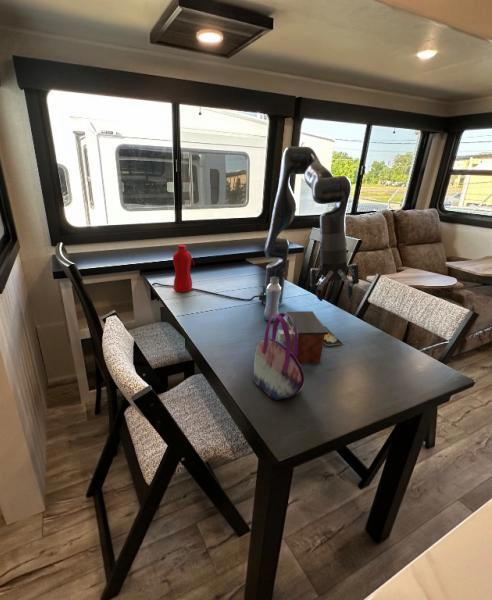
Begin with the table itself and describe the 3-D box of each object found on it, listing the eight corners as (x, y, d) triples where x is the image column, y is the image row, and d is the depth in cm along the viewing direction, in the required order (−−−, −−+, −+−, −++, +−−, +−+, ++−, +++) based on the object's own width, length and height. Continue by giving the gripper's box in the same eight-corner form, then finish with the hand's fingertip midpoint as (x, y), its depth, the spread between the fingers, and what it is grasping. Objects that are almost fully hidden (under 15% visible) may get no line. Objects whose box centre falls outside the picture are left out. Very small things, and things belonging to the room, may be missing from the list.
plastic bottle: (266, 315, 145) (270, 274, 137) (280, 318, 142) (284, 277, 134) (261, 320, 140) (264, 278, 132) (274, 324, 137) (279, 281, 129)
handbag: (243, 372, 105) (247, 304, 95) (267, 363, 109) (273, 298, 99) (285, 412, 88) (296, 336, 78) (311, 400, 93) (324, 327, 83)
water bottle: (192, 293, 167) (191, 248, 157) (172, 292, 169) (170, 246, 159) (196, 287, 175) (195, 244, 165) (177, 286, 177) (176, 242, 167)
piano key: (279, 341, 113) (280, 334, 112) (277, 337, 116) (278, 329, 115) (294, 340, 113) (295, 333, 112) (292, 336, 116) (293, 329, 115)
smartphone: (324, 325, 135) (342, 343, 122) (324, 327, 135) (342, 344, 122) (309, 326, 134) (326, 344, 120) (309, 328, 134) (325, 346, 121)
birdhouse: (294, 364, 109) (298, 332, 104) (282, 340, 125) (286, 311, 119) (322, 364, 110) (328, 332, 105) (308, 339, 125) (312, 311, 120)
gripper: (353, 243, 96) (353, 293, 101) (306, 248, 98) (309, 298, 102) (361, 246, 89) (362, 300, 93) (311, 251, 90) (313, 304, 95)
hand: (334, 298), depth 98 cm, fingers open, 8 cm apart
